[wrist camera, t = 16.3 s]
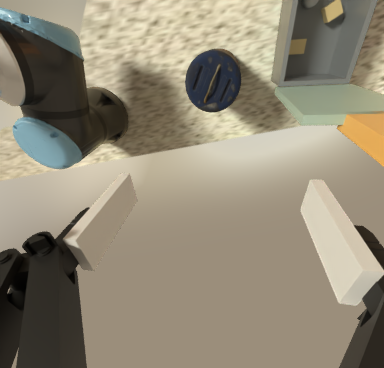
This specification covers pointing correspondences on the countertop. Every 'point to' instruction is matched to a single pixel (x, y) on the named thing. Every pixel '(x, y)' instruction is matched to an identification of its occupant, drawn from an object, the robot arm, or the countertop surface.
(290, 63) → the tub
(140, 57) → the countertop surface
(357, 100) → the lid
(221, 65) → the canister
